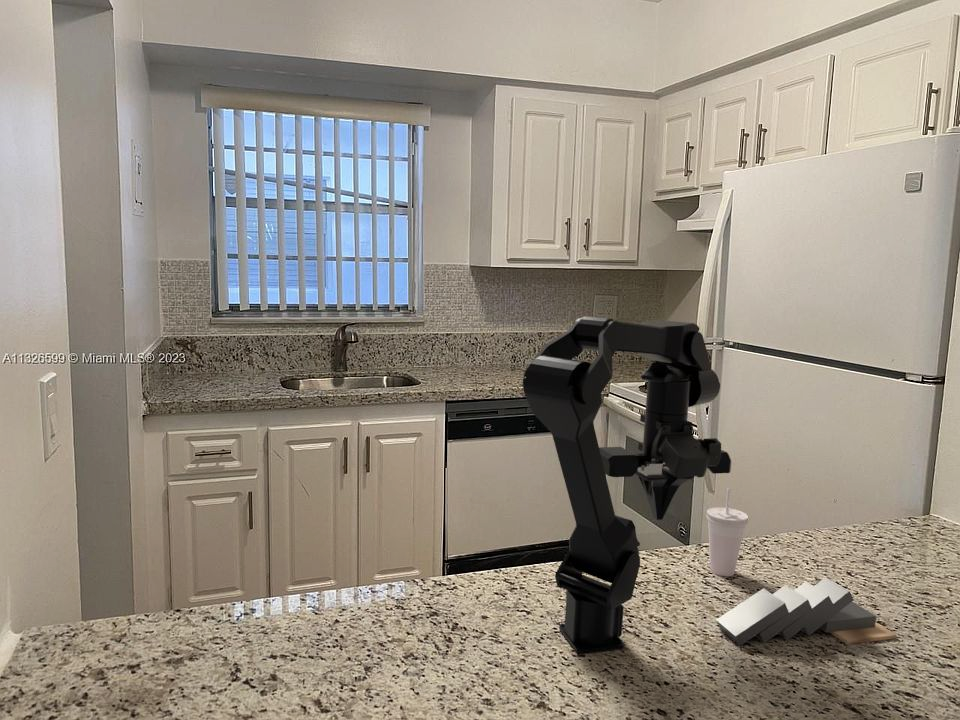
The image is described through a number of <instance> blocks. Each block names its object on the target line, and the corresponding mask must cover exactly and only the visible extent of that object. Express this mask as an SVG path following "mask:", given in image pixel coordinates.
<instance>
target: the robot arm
mask: <svg viewBox="0 0 960 720" xmlns="http://www.w3.org/2000/svg"><path fill="white" fill-rule="evenodd" d="M584 350H587V351H595V352H598V354H597V356H596V357H595V359H594V360H593V362H592V363H590V362H588V361H585V360H577V359H575V358H577V356H579V355H580V354H581V353H582V352H583V351H584ZM616 352H623V353H625V352H626V353H627V352H628V353H636V354H638V356H640V357H643V358H644V359H646V360H649V361H651V362H652V363H651V364H650V366H649V367H648V368H647V369H645V370H644V372H642V374H641V376H640V377H641V380H644V381H647V387H646V398H645V399H646V400H645V413H641V414H640V417H639V422H641V423H644V425H643V426H644V427H643V437H642V438H643V439H642V441H638V446H637V450H638V451H641V452H642V453H633V452H632V451H629V450H627V449H625V448H624V447H622V446H607V447H606V446H604V447H602V446H599V442H598V438H597V434H596V429H595V424H594V421H595V419H596V417H597V416H598V413H599V411H600V408H601V406H602V404H603V399H602V393H603V391H604V389H605V388H606V387H607V385H608V384H609V383H610V381H611V380H612V378H613V374H614V373H613V356H614V355H615V353H616ZM522 389H523V394H524V396H525V399H526V401H527V403H528V405H529V407H530V409H531V412H532V413H533V415H534V416H535V417H536V418H537V420H539V421H540V423H541V424H542V425H543V426H544V427H545V428H546V429H547V430H548V431H549V432H550V434H551V435H552V439H553V442H554V443H553V444H554V446H555V450H556V454H557V457H558V461H559V465H560V469H561V471H562V477H563V480H564V484H565V487H566V491H567V494H568V498H569V499H568V500H569V501H570V506H571V509H572V513H573V517H574V521H575V528H574V529H573V530H572V533H571V534H570V537H569V539H568V544H569V549H568V550H567V552H566V554H565V555H564V557H563V559H562V561H561V562H560V565H559V567H558V568H557V570H556V572H555V575H554V576H555V578H554V579H555V582H556V587H557V588H559V589H563V590H566V598H565V599H566V600H565V612H564V613H565V614H564V623H561V624H559V625H558V626H559V627H558V628H559V631H560V632H561V633H562V636H564V638H565V639H566V640H567V641H568V643H569V644H570V645H571V647H572V648H573V649H574V651H575V652H576V653H581V654H582V653H583V654H584V653H591V652H600V651H611V650H618V649H623V648H624V647H625V642H623V640H622V638H620V637H622V636H623V625H624V623H623V622H624V609H625V606H624V605H623V604H625V603H627V602H628V601H631V600H632V597H633V595H634V591H635V585H636V584H637V583H636V582H637V580H638V579H637V578H638V574H639V570H640V566H641V556H640V552H639V548H638V547H640V546H641V543H640V541H639V540H638V538H637V531H636V525H635V524H634V522H633V520H631V519H628V518H624V517H622V516H619V515H616V514H615V509H614V505H613V502H612V497H611V493H610V490H609V484H608V480H607V476H608V477H611V478H628V477H629V478H632V477H633V476H634V475H636V476H637V477H638V480H639V481H640V484H641V485H642V489H643V490H644V493H645V496H646V498H647V502H648V505H649V508H650V510H651V513H652V517H653V518H654V520H656V521H661V520H662V521H663V519H664V517H665V515H666V513H667V511H668V509H669V507H670V505H671V503H672V500H673V498H674V496H675V494H676V492H677V491H678V489H679V488H680V487H681V486H682V485H683V484H684V483H685V482H687V481H690V480H693V479H694V478H695V477H697V478H704V477H705V475H706V472H707V470H708V471H709V472H710V473H711V474H714V475H715V474H730V473H731V469H732V458H731V457H730V453H728V452H727V451H725V450H723V449H722V443H721V442H720V440H718V438H715V437H714V438H711V437H710V438H695V437H694V433H693V432H694V426H693V422H692V421H690V420H688V416H689V408H691V407H695V406H700V405H704V404H708V403H711V402H712V401H714V400H715V399H716V398H718V397H717V396H718V395H719V393H720V390H721V383H720V379H719V376H718V374H717V373H716V372H715V370H714V369H712V365H711V361H710V356H709V354H708V349H707V346H706V343H705V339H704V336H703V334H702V332H700V326H699V325H698V324H696V323H694V322H693V323H692V322H684V321H673V320H665V319H664V320H663V319H652V320H646V321H643V322H641V324H638V323H633V322H626V321H625V322H624V321H617V320H616V319H614V318H611V317H603V316H602V317H600V316H592V315H591V316H590V315H586V316H585V315H584V316H582V317H578V318H577V319H576V320H575V321H574V322H573V324H572V325H570V328H569V329H568V330H567V331H565V332H563V333H562V334H560V335H559V336H558V337H556V338H554V339H552V340H551V341H549V342H548V343H546V344H544V346H543V347H542V348H541V349H540V351H539V352H538V353H537V354H536V355H535V357H534V358H533V359H532V361H531V362H530V363H529V365H528V366H527V367H526V369H525V370H524V374H523V378H522ZM583 573H584V574H586V575H589V576H586V575H584V574H583ZM590 576H591V577H590ZM592 577H594V578H592ZM595 578H596V579H595ZM597 579H599V580H602V581H599V580H597ZM603 581H604V582H603ZM605 582H607V583H605ZM608 583H610V584H611V585H610V584H608Z"/></svg>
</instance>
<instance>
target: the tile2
mask: <svg viewBox="0 0 960 720" xmlns="http://www.w3.org/2000/svg"><path fill="white" fill-rule="evenodd" d="M794 590H795V589H793V588H791V587H790V586H788V585H786V584H785V585H783V586H782V587H780V588H779V589H778V590H776V591H775V592H774V593H772V594H773V595H774V596H775V597H777V598H778V599H780V600H781V601H783V602H784V603H785V604H786V607H787V609H788V611H789V613H788V614H786V615H785V616H783V617H782V618H781V619H779V620H778V621H776V622H775V623H773V624H772V625H770V626H769V627H767V628H766V629H764V630H763V631H761V632H760V633H758V634H757V635H755V636H754V637H756V638H757V639H758V640H760V641H761V642H762V643H764V644H765V643H767V642H768V641H770V640H771V639H772V638H774V637H775V636H776V635H779V634H778V633H779V632H781V631H782V630H783V629H785V628H786V627H788V626H789V625H790V624H792V623H793V622H794V621H796V620H797V619H799V618H800V617H801V616H803V615H804V614H806V613H807V612H808V611H810V610H811V609H812V607H811V605H810V603H809V601H808V599H806V598H805V597H803V596H802V595H800V594H799V593H797V592H796V591H794Z"/></svg>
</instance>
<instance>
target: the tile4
mask: <svg viewBox="0 0 960 720" xmlns="http://www.w3.org/2000/svg"><path fill="white" fill-rule="evenodd" d="M813 586H814V587H816V588H818V589H819V590H821V591H822V592H824V593H826V594H827V595H829V597H830V599H831V601H832V603H833V605H832V606H831V607H830V608H828V609H827V610H826V611H824V612H823V613H822V614H821V615H819V616H818V617H817V618H815V619H814V620H813V621H812V622H810V623H809V624H808V625H806V626H805V627H804V628H803V629H801V630H800V631H801V632H803V633H804V634H806V635H807V636H808V637H810V636H811V635H812V634H814V632H816V631H817V630H818V629H820V628H819V627H821V626H822V625H823V624H824V623H826V622H827V621H828V620H829V619H831V618H832V617H833V616H834V615H836V614H837V613H838V612H839V611H841V610H842V609H843V608H844V607H846V606H847V605H848V604H849V603H851V602H853V601H854V600H855V599H854V597H853V595H852V594H851V593H852V592H850V590H849V589H846V588H845V587H843V586H841V585H839V584H838V583H836V582H835V581H833V580H832V579H829V578H827V577H824V578H823V579H822V580H820V581H819V582H818V583H816V584H815V585H813Z"/></svg>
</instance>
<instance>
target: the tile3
mask: <svg viewBox="0 0 960 720" xmlns="http://www.w3.org/2000/svg"><path fill="white" fill-rule="evenodd" d="M814 586H815V585H813V584H812V583H809V582H808V581H804V582H803V583H802V584H801V585H799V586H798V587H796V588H795V589H793V590H794V591H796V592H797V593H799V594H800V595H802V596H803V597H805V598H806V599H808V601H809V603H810V605H811V607H812V609H811V610H810V611H808V612H807V613H806V614H804V615H803V616H801V617H800V618H799V619H797V620H796V621H794V622H793V623H792V624H790V625H789V626H788V627H786V628H785V629H783V630H782V631H781V632H779V633H778V634H777V635H780V636H781V637H782V638H784V639H785V640H786V641H788V640H790V639H791V638H792V637H794V635H796V634H798V633H799V632H800V631H801V629H803V628H804V627H805V626H806V625H808V624H809V623H810V622H812V621H813V620H814V619H815V618H817V617H818V616H819V615H821V614H822V613H823V612H824V611H826V610H827V609H828V608H830V607H831V606H832V605H833V603H832V601H831V599H830V597H829V595H827V594H826V593H824V592H822V591H821V590H819V589H818V588H816V587H814Z"/></svg>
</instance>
